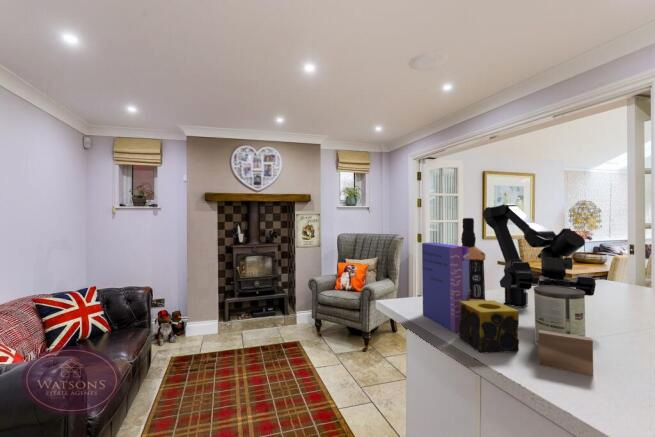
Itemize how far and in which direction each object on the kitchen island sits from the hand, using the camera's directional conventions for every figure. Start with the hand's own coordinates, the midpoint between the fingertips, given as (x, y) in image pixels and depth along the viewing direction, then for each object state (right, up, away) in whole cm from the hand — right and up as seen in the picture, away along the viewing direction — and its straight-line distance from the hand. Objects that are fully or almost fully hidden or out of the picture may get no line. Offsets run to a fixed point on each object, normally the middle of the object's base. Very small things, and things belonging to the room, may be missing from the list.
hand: (554, 308), depth 89 cm
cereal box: (-28, -7, +8) cm, 30 cm away
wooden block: (-12, -6, -19) cm, 24 cm away
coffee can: (-6, -7, -11) cm, 14 cm away
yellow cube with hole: (-23, -7, -9) cm, 26 cm away
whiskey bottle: (-13, -7, +24) cm, 29 cm away
